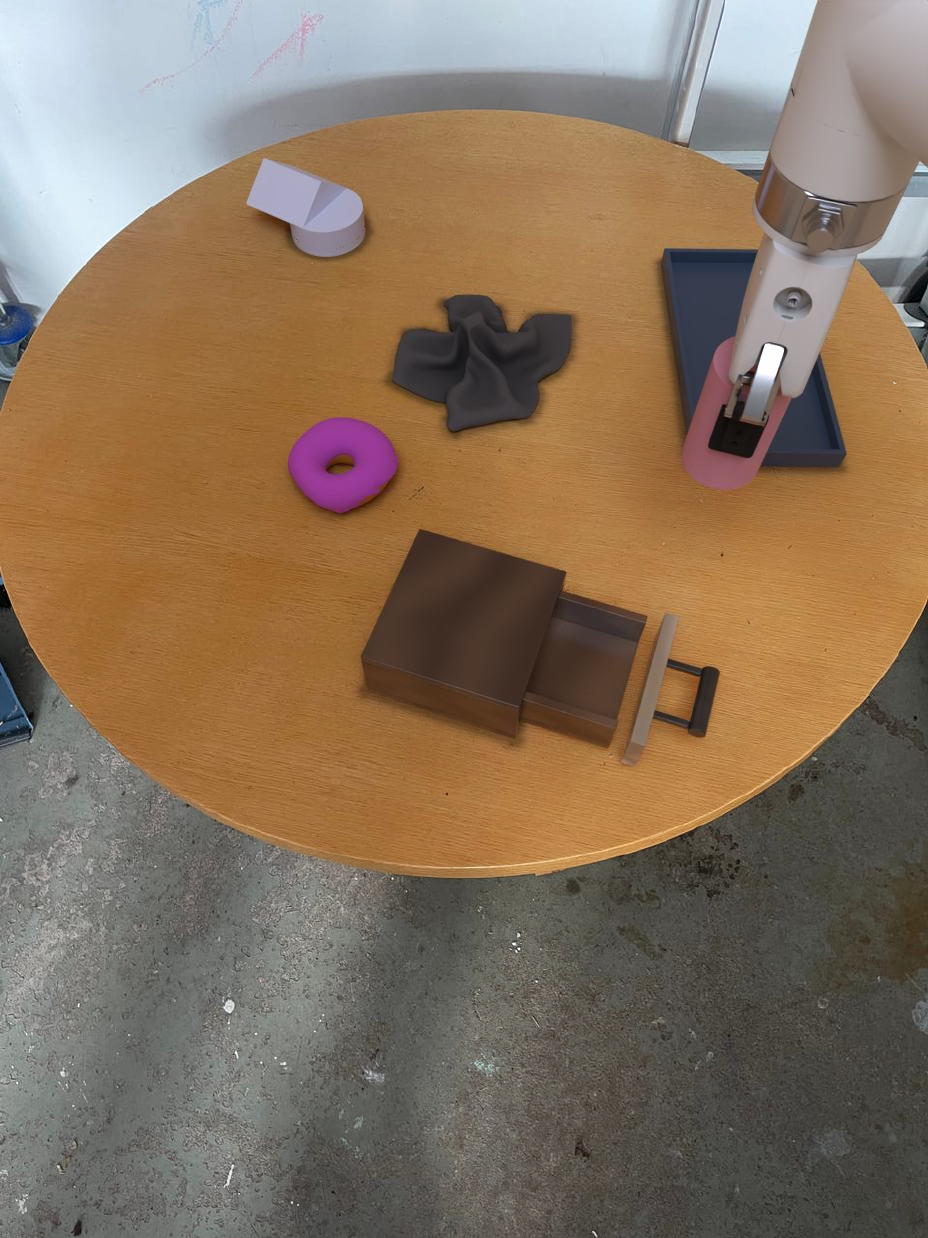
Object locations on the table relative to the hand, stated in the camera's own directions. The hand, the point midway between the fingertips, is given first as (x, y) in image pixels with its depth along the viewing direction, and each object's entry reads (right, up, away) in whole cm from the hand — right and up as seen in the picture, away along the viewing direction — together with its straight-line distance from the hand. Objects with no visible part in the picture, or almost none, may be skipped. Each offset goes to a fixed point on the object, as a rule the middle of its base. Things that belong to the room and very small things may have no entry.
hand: (737, 415), depth 64 cm
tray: (+11, +14, +33) cm, 38 cm away
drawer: (-8, -21, +12) cm, 25 cm away
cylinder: (0, -2, +4) cm, 5 cm away
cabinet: (-20, -18, +15) cm, 30 cm away
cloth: (-18, +14, +33) cm, 40 cm away
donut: (-32, -1, +24) cm, 40 cm away
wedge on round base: (-38, +34, +44) cm, 67 cm away
